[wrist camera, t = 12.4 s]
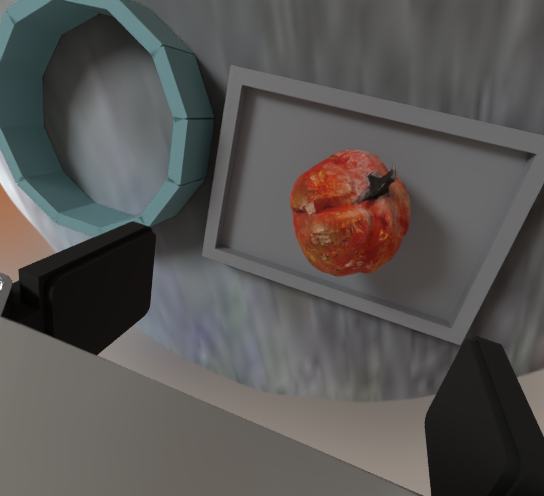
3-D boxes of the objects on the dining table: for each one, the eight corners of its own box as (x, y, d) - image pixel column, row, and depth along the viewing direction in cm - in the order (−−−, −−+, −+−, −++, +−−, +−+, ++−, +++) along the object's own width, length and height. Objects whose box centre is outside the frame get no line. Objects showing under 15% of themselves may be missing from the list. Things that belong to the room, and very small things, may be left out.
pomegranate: (365, 256, 29) (479, 217, 20) (297, 307, 25) (397, 287, 17) (315, 175, 29) (408, 99, 20) (240, 215, 25) (311, 146, 17)
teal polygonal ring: (29, -16, 29) (-24, -35, 25) (228, 24, 25) (200, 8, 22) (37, 193, 35) (-3, 202, 32) (196, 247, 32) (170, 264, 28)
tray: (242, 68, 26) (230, 64, 24) (551, 138, 22) (565, 140, 20) (212, 248, 31) (201, 256, 30) (456, 330, 27) (460, 345, 25)
